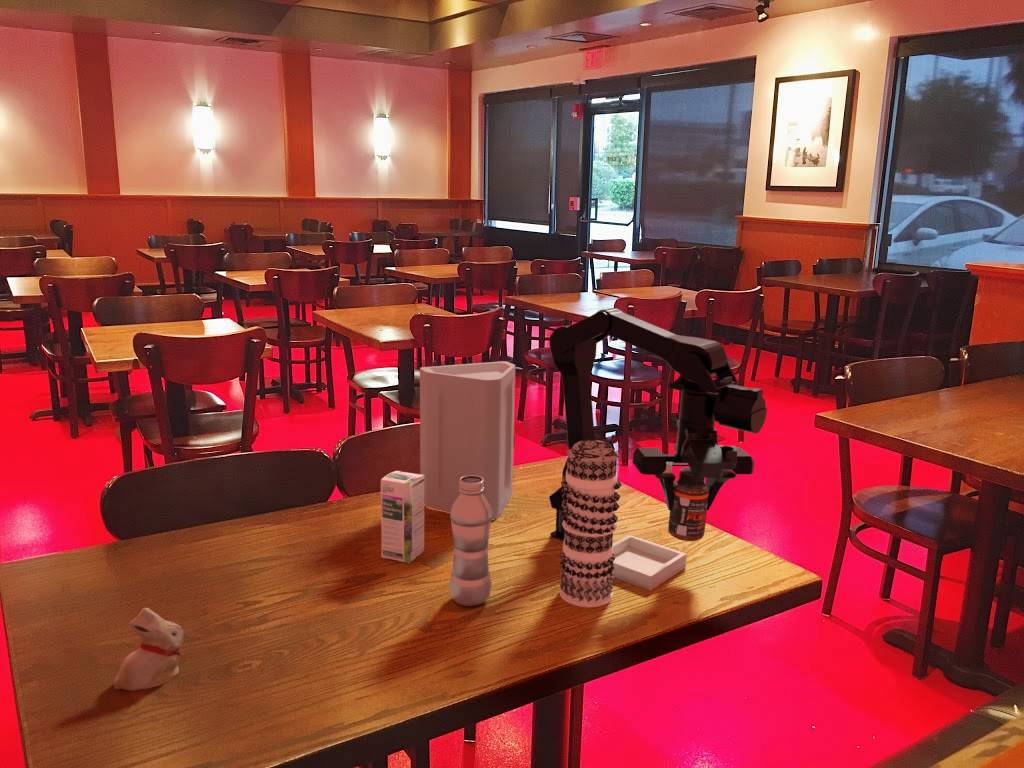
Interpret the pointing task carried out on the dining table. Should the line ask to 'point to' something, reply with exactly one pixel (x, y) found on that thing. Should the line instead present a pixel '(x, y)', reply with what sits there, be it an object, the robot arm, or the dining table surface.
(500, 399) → the triangular storage bin
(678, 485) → the supplement bottle
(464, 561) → the plastic bottle
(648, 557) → the tray
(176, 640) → the chocolate bunny
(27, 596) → the dining table surface
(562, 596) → the decorative candle
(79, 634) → the dining table surface
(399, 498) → the syrup box
